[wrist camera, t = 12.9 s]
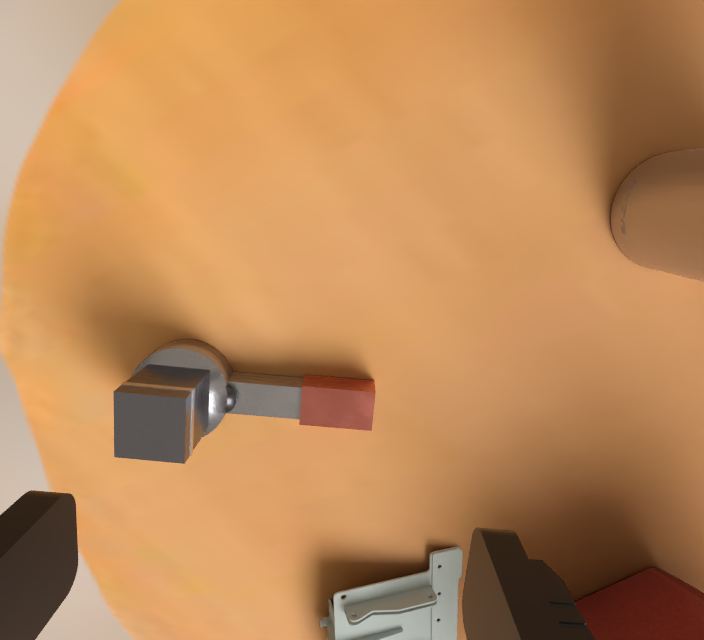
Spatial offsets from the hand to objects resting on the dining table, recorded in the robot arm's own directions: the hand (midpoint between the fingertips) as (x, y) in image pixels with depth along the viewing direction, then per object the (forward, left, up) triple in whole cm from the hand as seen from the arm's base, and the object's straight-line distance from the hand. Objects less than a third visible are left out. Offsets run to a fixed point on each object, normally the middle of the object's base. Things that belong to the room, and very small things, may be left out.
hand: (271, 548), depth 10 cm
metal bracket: (-8, +32, -34) cm, 47 cm away
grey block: (+12, +10, -30) cm, 34 cm away
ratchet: (+7, +10, -33) cm, 35 cm away
